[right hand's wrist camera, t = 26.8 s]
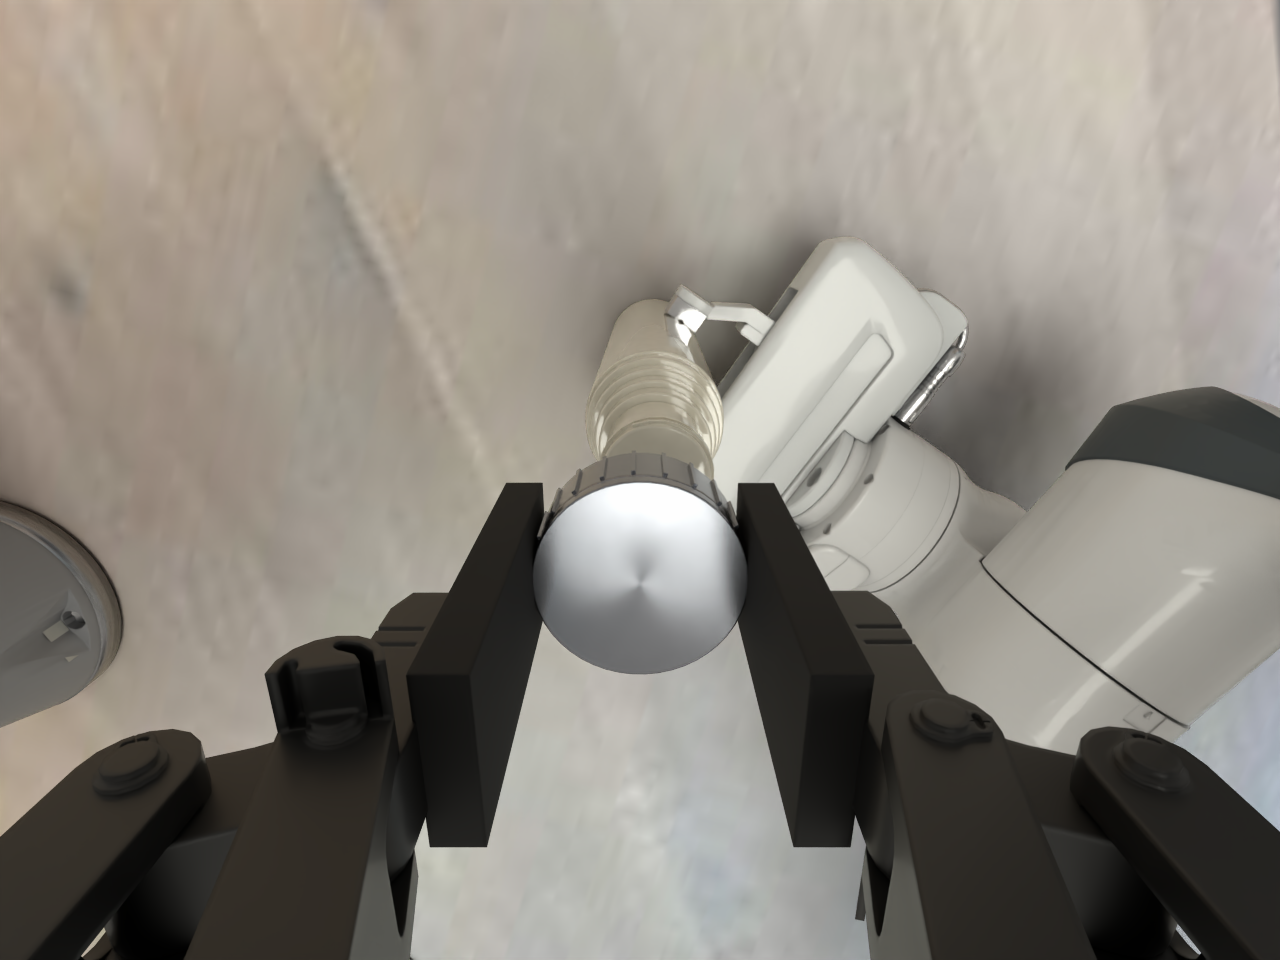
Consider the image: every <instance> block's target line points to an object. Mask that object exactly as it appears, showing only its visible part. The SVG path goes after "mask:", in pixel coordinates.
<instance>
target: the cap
mask: <svg viewBox="0 0 1280 960" xmlns="http://www.w3.org/2000/svg"><path fill="white" fill-rule="evenodd" d="M739 528H740V527H739V524H738V521H737V518H736V515H735V512H734V509H733V506H732V503H731V501H728V502H727V500H726V498H725V496H724V495H723V494H722V492H721V491H720V490H719V488H718V487H717V483H716V481H715V480H714V479H712V480H710V479H709V478H708V477H707V476H705V475H704V474H703V473H702V472H700V471H699V470H698V469H696V468H694V465H693V463H691V462H690V463H689V464H687V463H685V462H682V461H680V460H678V459H675V458H672V457H668V456H666V453H661V455H660V454H653V453H636V450H633V451H632V453H628V454H621V455H616V456H612V457H608V458H607V456H604V457H602V460H600V461H598V462H596V463H594V464H592V465H590V466H588V467H586V468H585V469H583V470H581V469H578V470H577V472H576V475H575V476H574V477H573V478H572V479H570V480H569V481H568V482H567V483H566V484H565V485H564V487H563V488H562V489H560V488H558V489H557V491H556V495H555V498H554V501H553V503H552V504H551V507H550V509H549V511H548V512H546V511H545V513H544V516H543V519H542V522H541V525H540V528H539V531H538V534H537V537H536V540H539V541H538V544H537V547H536V551H535V555H534V558H533V583H534V598H535V603H536V606H537V609H538V612H539V614H540V616H541V618H542V620H543V622H544V623H545V625H546V626H547V628H548V629H549V631H550V632H551V633H552V635H553V636H554V637H555V638H556V639H557V640H558V641H559V642H560V643H561V644H562V645H563V646H564V647H565V648H567V649H568V650H569V651H570V652H572V653H573V654H575V655H576V656H578V657H579V658H581V659H583V660H585V661H587V662H589V663H591V664H593V665H595V666H598V667H601V668H603V669H606V670H611V671H615V672H619V673H627V674H653V673H661V672H665V671H670V670H674V669H677V668H680V667H683V666H686V665H688V664H690V663H692V662H694V661H696V660H698V659H700V658H701V657H703V656H704V655H706V654H708V653H709V652H710V651H711V650H713V649H714V648H715V647H716V646H718V645H719V644H720V643H721V642H722V641H723V640H724V639H725V638H726V637H727V635H728V634H729V633H730V631H731V630H732V629H733V627H734V626H735V624H736V622H737V621H738V619H739V617H740V615H741V613H742V610H743V608H744V605H745V602H746V590H747V574H748V561H747V556H746V552H745V549H744V546H743V543H742V540H741V537H740V533H739V530H738V529H739Z"/></svg>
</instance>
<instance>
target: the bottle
mask: <svg viewBox="0 0 1280 960" xmlns="http://www.w3.org/2000/svg"><path fill="white" fill-rule="evenodd" d="M668 303H669V302H667V301H664V300H659V299H646V300H641V301H639V302H636V303H634V304H632V305H630V306H629V307H628V308H626V309H625V310H624V311H623V312H622V313H621V315H620V316H619V317H618V319H617V321H616V323H615V325H614V327H613V330H612V333H611V336H610V339H609V341H608V344H607V347H606V350H605V353H604V356H603V358H602V361H601V364H600V367H599V370H598V372H597V375H596V378H595V381H594V384H593V386H592V389H591V392H590V395H589V398H588V402H587V406H586V412H585V423H586V431H587V438H588V442H589V445H590V448H591V450H592V453H593V454H594V456H595V458H596V460H597V461H600V460H602V457H604V456H607V458H608V457H612V456H616V455H621V454H628V453H632V451H633V450H636V453H653V454H660V455H661V453H666V456H668V457H672V458H675V459H678V460H680V461H682V462H685V463H687V464H689V463H690V462H691V463H693V465H694V468H696V469H698V470H699V471H700V472H702V473H703V474H704V475H705V476H707V477H708V478H709V479H710V480H712V479H714V465H713V461H712V460H713V459H714V457H715V455H716V453H717V451H718V449H719V446H720V443H721V440H722V435H723V426H724V425H723V424H724V410H723V404H722V400H721V397H720V394H719V391H718V389H717V387H716V384H715V382H714V380H713V377H712V375H711V372H710V370H709V368H708V365H707V363H706V361H705V358H704V356H703V353H702V351H701V349H700V346H699V344H698V341H697V339H696V337H695V334H694V332H693V331H692V330H691V329H689V328H688V327H687V326H685V325H684V323H683V321H682V320H677V319H675V318H673V317H671V316H670V315H669V314H667V313H666V312H665V308H666V306H667V305H668Z"/></svg>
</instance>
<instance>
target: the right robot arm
mask: <svg viewBox="0 0 1280 960" xmlns="http://www.w3.org/2000/svg"><path fill="white" fill-rule="evenodd" d="M543 516H544V502H543V483H506V484H505V486H504V488H503V490H502V492H501V494H500V496H499V498H498V500H497V502H496V504H495V505H494V507H493V509H492V511H491V513H490V515H489V517H488V519H487V521H486V523H485V525H484V526H483V528H482V530H481V532H480V534H479V536H478V538H477V540H476V542H475V544H474V546H473V548H472V549H471V551H470V553H469V555H468V557H467V559H466V561H465V563H464V565H463V567H462V569H461V570H460V572H459V574H458V576H457V578H456V580H455V582H454V584H453V586H452V588H451V590H450V591H449V593H412V594H411V595H409V596H408V597H407V598H405V599H404V600H402V601H401V602H400V603H398V604H397V605H395V606H394V607H392V608H391V609H390V611H389V612H388V614H387V615H386V617H385V618H384V620H383V621H382V623H381V624H380V626H379V630H378V631H376V632H375V634H374V635H373V637H372V638H371V639H368V638H364V637H360V636H335V637H330V638H325V639H320V640H315V641H313V642H310V643H308V644H305V645H303V646H300V647H298V648H295V649H293V650H291V651H290V652H288V653H287V654H285V655H284V656H282V657H281V658H279V659H278V660H276V661H275V662H274V663H273V665H272V666H271V667H270V668H269V669H268V671H267V672H266V673H265V678H266V682H267V687H268V691H269V696H270V700H271V705H272V709H273V714H274V718H275V722H276V727H277V731H278V733H277V736H276V738H275V740H274V742H272V743H269V744H265V745H262V746H258V747H255V748H250V749H246V750H241V751H236V752H232V753H227V754H223V755H218V756H213V757H209V758H205V755H204V752H203V748H202V744H201V741H200V740H199V739H198V738H196V737H195V736H194V735H193V734H192V733H191V732H186V731H180V730H175V729H169V730H159V731H149V732H146V733H142V734H138V735H136V736H131V737H129V738H126V739H123V740H121V741H119V742H117V743H115V744H113V745H111V746H109V747H107V748H105V749H103V750H101V751H98V752H97V753H95V754H94V755H93V756H91V757H90V758H88V759H87V760H86V761H84V762H83V763H82V764H80V765H79V766H78V767H76V768H75V769H74V770H73V771H72V772H70V773H69V774H68V775H67V776H66V777H65V778H64V779H63V780H62V781H61V782H60V783H58V784H57V785H56V786H55V787H54V788H53V789H52V790H51V791H50V792H49V793H48V794H46V795H45V796H44V797H43V798H42V799H41V800H40V801H39V802H38V803H37V804H36V805H35V806H33V807H32V808H31V809H30V810H29V811H28V812H27V813H26V814H25V815H24V816H23V817H21V818H20V819H19V820H18V821H17V822H16V823H15V824H14V825H13V826H12V827H11V828H9V829H8V830H7V831H6V832H5V833H4V834H3V835H2V836H1V837H0V960H410V950H411V941H412V931H413V922H414V912H415V903H416V893H417V884H418V870H417V863H416V856H415V850H414V848H415V845H416V842H417V839H418V837H419V834H420V831H421V828H422V826H423V823H424V820H425V817H426V823H427V830H428V837H429V844H430V847H487V845H488V840H489V836H490V832H491V828H492V824H493V820H494V816H495V812H496V808H497V804H498V800H499V796H500V792H501V788H502V784H503V780H504V776H505V772H506V768H507V764H508V759H509V755H510V751H511V747H512V743H513V739H514V735H515V731H516V727H517V723H518V719H519V715H520V711H521V707H522V703H523V699H524V695H525V691H526V687H527V683H528V678H529V674H530V670H531V666H532V662H533V658H534V654H535V650H536V646H537V642H538V638H539V634H540V630H541V626H542V622H543V620H542V618H541V616H540V614H539V612H538V609H537V606H536V603H535V598H534V583H533V558H534V555H535V551H536V547H537V544H538V541H539V540H536V537H537V534H538V531H539V528H540V525H541V522H542V519H543ZM736 518H737V521H738V524H739V527H740V528H739V529H738V530H739V533H740V537H741V540H742V543H743V546H744V549H745V552H746V556H747V561H748V574H747V590H746V602H745V605H744V608H743V610H742V613H741V615H740V617H739V619H738V624H739V628H740V632H741V636H742V640H743V644H744V648H745V652H746V656H747V661H748V665H749V669H750V673H751V677H752V681H753V685H754V689H755V693H756V697H757V701H758V705H759V709H760V713H761V717H762V721H763V725H764V729H765V733H766V737H767V741H768V746H769V750H770V754H771V758H772V762H773V766H774V770H775V774H776V778H777V782H778V786H779V790H780V794H781V798H782V802H783V806H784V810H785V814H786V818H787V822H788V826H789V831H790V835H791V839H792V843H793V847H851V840H852V833H853V826H854V819H855V816H856V818H857V821H858V824H859V826H860V829H861V832H862V835H863V837H864V840H865V843H866V850H865V856H864V863H863V869H862V876H861V883H860V889H859V896H858V903H857V910H856V917H855V919H857V920H862V921H864V919H865V913H866V920H867V930H868V939H869V949H870V958H871V960H1280V832H1279V831H1278V830H1277V829H1276V828H1275V827H1274V826H1273V825H1272V824H1271V823H1270V822H1269V821H1267V820H1266V819H1265V818H1264V817H1263V816H1262V815H1261V814H1260V813H1259V812H1258V811H1256V810H1255V809H1254V808H1253V807H1252V806H1251V805H1250V804H1249V803H1248V802H1247V801H1245V800H1244V799H1243V798H1242V797H1241V796H1240V795H1239V794H1238V793H1237V792H1236V791H1234V790H1233V789H1232V788H1231V787H1230V786H1229V785H1228V784H1227V783H1226V782H1225V781H1223V780H1222V779H1221V778H1220V777H1219V776H1218V775H1217V774H1216V773H1215V772H1214V771H1212V770H1211V769H1210V768H1209V767H1208V766H1207V765H1206V764H1204V763H1203V762H1202V761H1200V760H1199V759H1197V758H1196V757H1195V756H1193V755H1192V754H1191V753H1189V752H1188V751H1186V750H1185V749H1183V748H1181V747H1179V746H1177V745H1175V744H1173V743H1171V742H1169V741H1167V740H1165V739H1163V738H1161V737H1159V736H1156V735H1153V734H1150V733H1145V732H1143V731H1139V730H1135V729H1131V728H1122V727H1112V726H1107V727H1102V728H1096V729H1091V730H1090V731H1088V732H1087V733H1086V734H1085V735H1084V736H1083V737H1082V738H1081V739H1080V743H1079V746H1078V750H1077V754H1076V755H1071V754H1067V753H1062V752H1058V751H1053V750H1048V749H1044V748H1039V747H1035V746H1030V745H1026V744H1022V743H1019V742H1015V741H1012V740H1008V739H1006V738H1005V737H1004V734H1003V732H1002V731H1001V729H1000V728H999V726H998V725H997V723H996V722H995V721H994V719H993V718H992V717H991V716H990V715H989V714H987V713H986V712H985V711H983V710H982V709H981V708H979V707H978V706H977V705H975V704H973V703H971V702H969V701H967V700H964V699H962V698H960V697H958V696H956V695H952V694H948V693H947V692H946V691H945V689H944V688H943V686H942V685H941V683H940V682H939V680H938V679H937V677H936V676H935V674H934V672H933V671H932V669H931V668H930V666H929V665H928V663H927V662H926V660H925V659H924V657H923V656H922V654H921V653H920V651H919V650H918V648H917V647H916V645H915V644H912V639H911V638H910V636H909V635H908V633H907V631H906V630H905V629H902V624H901V622H900V621H899V619H898V618H897V616H896V615H895V613H894V612H893V610H892V609H891V607H890V606H889V605H887V604H886V603H884V602H883V601H881V600H880V599H879V598H877V597H876V596H874V595H873V594H871V593H870V592H869V591H830V589H829V587H828V585H827V583H826V581H825V579H824V577H823V575H822V573H821V571H820V570H819V568H818V566H817V564H816V562H815V560H814V558H813V556H812V554H811V552H810V550H809V549H808V547H807V545H806V543H805V541H804V539H803V537H802V535H801V533H800V531H799V529H798V528H797V526H796V524H795V522H794V520H793V518H792V516H791V514H790V512H789V510H788V508H787V506H786V505H785V503H784V501H783V499H782V497H781V495H780V493H779V491H778V489H777V487H776V485H775V484H774V483H738V491H737V510H736ZM120 639H121V615H120V609H119V606H118V602H117V599H116V596H115V594H114V591H113V589H112V587H111V585H110V583H109V581H108V579H107V577H106V576H105V574H104V572H103V571H102V570H101V568H100V567H99V565H98V564H97V563H96V561H95V560H94V559H93V558H92V557H91V556H90V554H89V553H88V552H87V551H86V550H85V549H84V548H83V547H82V546H81V545H80V544H79V543H78V542H77V541H75V540H74V539H73V538H72V537H71V536H70V535H68V534H67V533H66V532H64V531H63V530H62V529H60V528H59V527H57V526H56V525H54V524H53V523H51V522H49V521H48V520H46V519H44V518H42V517H40V516H39V515H36V514H34V513H32V512H30V511H28V510H25V509H23V508H20V507H17V506H15V505H11V504H8V503H5V502H1V501H0V728H1V727H3V726H5V725H8V724H10V723H13V722H15V721H18V720H20V719H23V718H25V717H28V716H30V715H33V714H35V713H38V712H40V711H43V710H45V709H47V708H50V707H52V706H55V705H58V704H60V703H63V702H65V701H67V700H69V699H70V698H72V697H74V696H75V695H76V694H78V693H79V692H80V691H81V690H83V689H84V688H85V687H86V686H87V685H89V684H90V683H91V682H92V681H94V680H95V679H96V678H97V677H99V676H100V675H101V674H102V673H103V672H104V671H105V670H106V669H107V668H108V666H109V665H110V664H111V662H112V661H113V659H114V657H115V655H116V653H117V650H118V647H119V643H120ZM1177 924H1178V925H1179V926H1180V927H1181V928H1182V930H1183V931H1184V932H1185V933H1186V934H1187V936H1188V937H1189V938H1190V939H1191V941H1192V942H1193V943H1194V944H1195V946H1196V947H1197V948H1198V949H1199V951H1200V952H1201V954H1200V955H1199V954H1197V953H1196V952H1195V951H1194V950H1193V949H1192V948H1191V947H1190V946H1189V945H1188V944H1187V943H1186V942H1185V940H1184V939H1183V938H1182V937H1181V935H1180V934H1179V933H1178V932H1177V930H1176V927H1177ZM103 928H105V931H106V932H105V934H104V935H103V936H102V937H101V939H100V940H99V941H98V942H97V944H96V945H95V946H94V947H93V948H92V949H91V950H90V951H89V952H88V953H87V954H86V955H84V956H83V957H81V955H82V954H83V953H84V951H85V950H86V949H87V948H88V946H89V945H90V944H91V943H92V941H93V940H94V939H95V938H96V936H97V935H98V934H99V933H100V931H101V930H102V929H103Z"/></svg>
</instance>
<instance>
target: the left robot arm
mask: <svg viewBox="0 0 1280 960" xmlns="http://www.w3.org/2000/svg"><path fill="white" fill-rule="evenodd" d="M665 312H666V313H667V314H669V315H670V316H671V317H673V318H675V319H677V320H682V321H683V323H684V325H685V326H687V327H688V328H689V329H691V330H692V331H694V332H696V331H697V330H698V328H699V327H700V325H701V324H702V323H703V321H704V320H705V319H707V320H721V321H735V322H737V324H736V325H735V326H736V329H737V330H738V331H739V333H740V334H741V335H743V336H744V337H745V338H747V339H748V340H750V341H749V342H748V344H747V345H746V347H745V348H744V349H743V351H742V352H741V354H740V355H739V356H738V358H737V359H736V361H735V362H734V364H733V365H732V366H731V368H730V369H729V371H728V372H727V373H726V375H725V376H724V378H723V379H722V380H721V382H720V383H719V385H718V386H717V389H718V391H719V394H720V397H721V400H722V404H723V410H724V424H723V425H724V426H723V435H722V440H721V443H720V446H719V449H718V451H717V453H716V455H715V457H714V459H713V460H712V461H713V465H714V480H715V481H716V483H717V487H718V488H719V490H720V491H721V492H722V494H723V495H724V496H725V498H726V500H727V502H728V501H731V503H732V506H733V509H734V512H735V515H736V510H737V491H738V483H774V484H775V485H776V487H777V489H778V491H779V493H780V495H781V497H782V499H783V501H784V503H785V505H786V506H787V508H788V510H789V512H790V514H791V516H792V518H793V520H794V522H795V524H796V526H797V528H798V529H799V531H800V533H801V535H802V537H803V539H804V541H805V543H806V545H807V547H808V549H809V550H810V552H811V554H812V556H813V558H814V560H815V562H816V564H817V566H818V568H819V570H820V571H821V573H822V575H823V577H824V579H825V581H826V583H827V585H828V587H829V589H830V591H851V590H853V591H869V592H870V593H871V594H873V595H874V596H876V597H877V598H879V599H880V600H881V601H883V602H884V603H886V604H887V605H889V606H890V607H891V609H892V610H893V611H894V612H895V613H896V614H897V615H898V618H899V621H900V622H901V624H902V629H905V630H906V631H907V633H908V635H909V636H910V638H911V639H912V644H915V645H916V647H917V648H918V650H919V651H920V653H921V654H922V656H923V657H924V659H925V660H926V662H927V663H928V665H929V666H930V668H931V669H932V671H933V672H934V674H935V676H936V677H937V679H938V680H939V682H940V683H941V685H942V686H943V688H944V689H945V691H946V692H947V693H948V694H952V695H956V696H958V697H960V698H962V699H964V700H967V701H969V702H971V703H973V704H975V705H977V706H978V707H979V708H981V709H982V710H983V711H985V712H986V713H987V714H989V715H990V716H991V717H992V718H993V719H994V721H995V722H996V723H997V725H998V726H999V728H1000V729H1001V731H1002V732H1003V734H1004V737H1005V738H1006V739H1008V740H1012V741H1015V742H1019V743H1022V744H1026V745H1030V746H1035V747H1039V748H1044V749H1048V750H1053V751H1058V752H1062V753H1067V754H1071V755H1076V754H1077V750H1078V746H1079V743H1080V739H1081V738H1082V737H1083V736H1084V735H1085V734H1086V733H1087V732H1088V731H1090V730H1091V729H1096V728H1102V727H1107V726H1112V727H1122V728H1131V729H1135V730H1139V731H1143V732H1145V733H1150V734H1153V735H1156V736H1159V737H1161V738H1163V739H1165V740H1167V741H1169V742H1171V743H1174V742H1175V741H1176V740H1177V739H1178V738H1180V737H1181V736H1182V735H1183V734H1184V733H1185V732H1187V731H1188V730H1189V729H1190V725H1191V724H1192V723H1194V722H1195V721H1196V720H1197V719H1198V718H1199V717H1200V716H1202V715H1203V714H1204V713H1205V712H1206V711H1207V710H1209V709H1210V708H1211V707H1212V706H1213V705H1214V704H1216V703H1217V702H1218V701H1219V700H1220V699H1221V698H1222V697H1224V696H1225V695H1226V694H1227V693H1228V692H1229V691H1231V690H1232V689H1233V688H1234V687H1235V686H1236V685H1238V684H1239V683H1240V682H1241V681H1242V680H1243V679H1245V678H1246V677H1247V676H1248V675H1249V674H1250V673H1251V672H1253V671H1254V670H1255V669H1256V668H1257V667H1258V666H1260V665H1261V664H1262V663H1263V662H1264V661H1265V660H1267V659H1268V658H1269V657H1270V656H1271V655H1272V654H1273V653H1275V652H1276V651H1277V650H1278V649H1279V648H1280V408H1277V407H1275V406H1273V405H1271V404H1268V403H1266V402H1263V401H1260V400H1258V399H1255V398H1252V397H1248V396H1245V395H1241V394H1237V393H1232V392H1229V391H1226V390H1223V389H1221V388H1217V387H1200V388H1192V389H1184V390H1178V391H1172V392H1167V393H1162V394H1158V395H1153V396H1149V397H1145V398H1141V399H1137V400H1133V401H1130V402H1127V403H1123V404H1120V405H1116V406H1114V407H1112V408H1111V409H1110V410H1109V412H1108V413H1107V414H1106V415H1105V417H1104V418H1103V419H1102V421H1101V422H1100V423H1099V424H1098V426H1097V427H1096V428H1095V430H1094V431H1093V432H1092V433H1091V435H1090V436H1089V437H1088V439H1087V440H1086V441H1085V442H1084V444H1083V445H1082V446H1081V448H1080V449H1079V450H1078V451H1077V453H1076V454H1075V455H1074V457H1073V458H1072V459H1071V460H1070V462H1069V463H1068V464H1067V466H1066V468H1065V472H1064V473H1063V474H1062V475H1061V476H1060V478H1059V479H1058V480H1057V481H1056V482H1055V483H1054V484H1053V485H1052V486H1051V487H1050V488H1049V489H1048V490H1047V491H1046V493H1045V494H1044V495H1043V496H1042V497H1041V498H1040V499H1039V500H1038V501H1037V502H1036V503H1035V504H1034V505H1033V507H1032V508H1031V509H1030V510H1029V511H1028V512H1027V511H1025V510H1024V509H1023V508H1021V507H1020V506H1018V505H1017V504H1016V503H1014V502H1013V501H1011V500H1009V499H1008V498H1006V497H1004V496H1002V495H999V494H997V493H993V492H990V491H986V490H984V489H982V488H980V487H978V486H976V485H975V484H974V483H973V482H972V481H971V480H970V479H969V478H968V476H967V475H966V473H965V472H964V471H963V469H962V468H961V467H960V466H959V465H958V464H957V463H956V462H955V461H954V460H952V459H951V458H950V457H948V456H947V455H945V454H944V453H943V452H941V451H940V450H938V449H937V448H935V447H934V446H933V445H931V444H930V443H928V442H927V441H925V440H924V439H923V438H921V437H920V436H918V435H917V434H915V433H914V432H912V431H911V430H910V428H909V427H910V426H911V424H912V423H913V422H914V421H915V420H916V419H917V417H918V416H919V415H920V414H921V412H922V411H923V410H924V409H925V407H926V406H927V405H928V404H929V402H930V401H931V400H932V397H934V395H935V393H936V392H937V390H938V388H940V386H941V385H942V383H944V381H945V380H946V379H947V378H948V377H950V376H951V375H953V374H954V372H955V371H956V370H957V369H958V368H959V366H960V365H961V363H962V362H963V360H964V358H965V356H966V354H965V353H964V352H963V351H962V350H963V348H964V347H965V344H966V342H967V338H968V322H967V319H966V317H965V315H964V313H963V312H962V310H961V309H960V308H959V307H957V306H956V305H955V304H953V303H952V302H951V301H949V300H948V299H947V298H945V297H944V296H943V295H941V294H940V293H939V292H937V291H935V290H931V289H926V288H918V289H916V288H915V287H914V286H913V285H912V284H911V283H910V282H909V281H908V280H907V279H906V278H905V277H904V276H903V275H902V274H901V273H900V272H899V271H898V270H897V269H896V268H895V267H894V266H893V265H892V264H891V263H890V262H889V261H888V260H887V259H886V258H884V257H883V256H882V255H881V254H880V253H878V252H877V251H876V250H875V249H874V248H873V247H871V246H870V245H869V244H867V243H866V242H865V241H863V240H861V239H859V238H856V237H851V236H844V237H836V238H831V239H826V240H823V241H822V242H820V243H819V244H818V246H817V247H816V248H815V250H814V251H813V252H812V254H811V255H810V257H809V258H808V259H807V261H806V262H805V264H804V265H803V266H802V268H801V269H800V271H799V272H798V273H797V275H796V276H795V278H794V279H793V281H792V282H791V283H790V285H789V286H788V288H787V289H786V290H785V292H784V293H783V295H782V296H781V297H780V299H779V300H778V302H777V303H776V304H775V306H774V307H773V309H772V310H771V311H770V313H769V314H768V316H766V315H765V314H764V313H762V312H761V311H759V310H758V309H756V308H755V307H754V306H752V305H751V304H745V303H728V302H711V303H708V302H707V301H706V300H704V299H703V298H701V297H700V296H698V295H697V294H695V293H694V292H693V291H691V290H690V289H688V288H687V287H685V286H683V285H682V284H681V285H680V286H679V288H678V289H677V291H676V292H675V294H674V295H673V297H672V298H671V300H670V302H669V303H668V305H667V306H666V308H665ZM958 337H959V338H958ZM957 338H958V341H957V343H956V345H955V346H954V345H952V344H953V343H954V341H955V340H956V339H957ZM891 415H893V416H891Z"/></svg>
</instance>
